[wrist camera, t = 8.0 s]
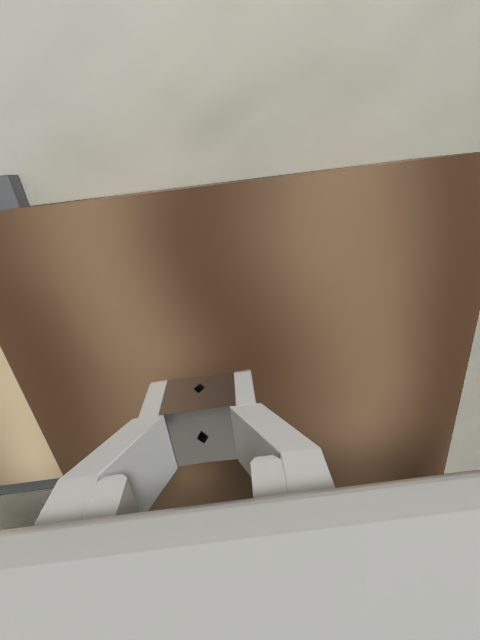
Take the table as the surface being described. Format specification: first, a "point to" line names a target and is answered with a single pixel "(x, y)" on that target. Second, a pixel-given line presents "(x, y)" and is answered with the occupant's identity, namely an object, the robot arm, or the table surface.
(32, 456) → the beige wooden square slab
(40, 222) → the block
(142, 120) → the table surface
